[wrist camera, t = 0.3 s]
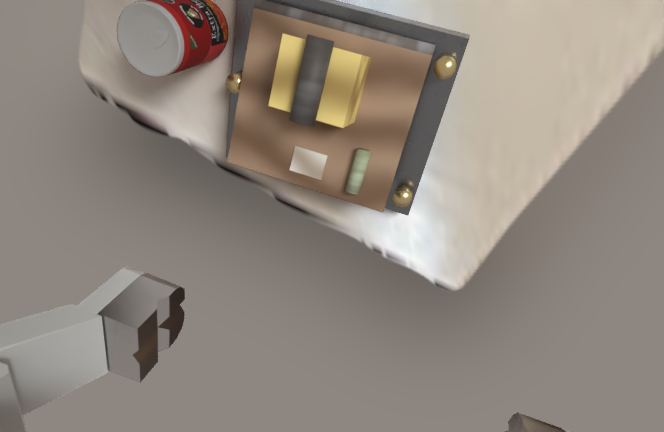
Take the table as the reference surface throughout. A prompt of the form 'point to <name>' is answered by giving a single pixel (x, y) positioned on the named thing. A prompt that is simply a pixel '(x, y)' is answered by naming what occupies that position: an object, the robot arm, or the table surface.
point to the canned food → (171, 34)
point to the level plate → (340, 143)
